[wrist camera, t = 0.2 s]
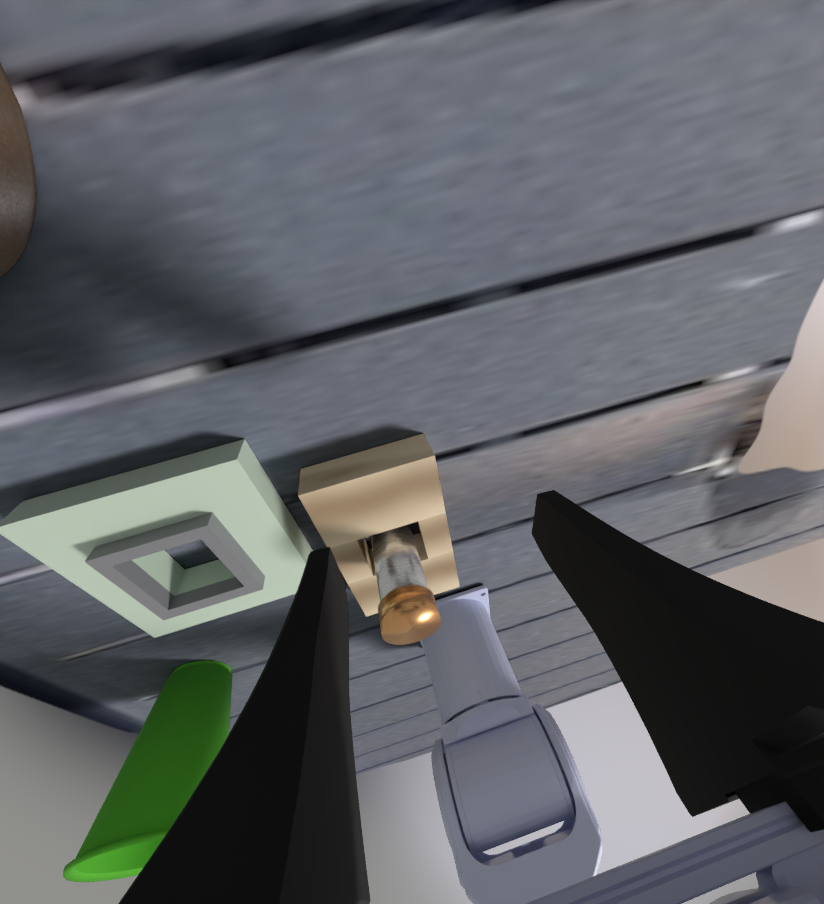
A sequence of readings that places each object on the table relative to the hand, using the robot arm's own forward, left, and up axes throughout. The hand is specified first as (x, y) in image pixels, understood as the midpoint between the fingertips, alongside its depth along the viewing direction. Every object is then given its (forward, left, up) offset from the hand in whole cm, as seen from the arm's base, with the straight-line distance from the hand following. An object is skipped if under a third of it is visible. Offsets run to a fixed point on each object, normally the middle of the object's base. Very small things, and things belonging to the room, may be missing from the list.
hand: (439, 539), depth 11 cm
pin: (-9, +2, -10) cm, 14 cm away
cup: (-21, +23, -10) cm, 33 cm away
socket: (-5, +14, -10) cm, 18 cm away
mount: (-9, +2, -10) cm, 14 cm away
